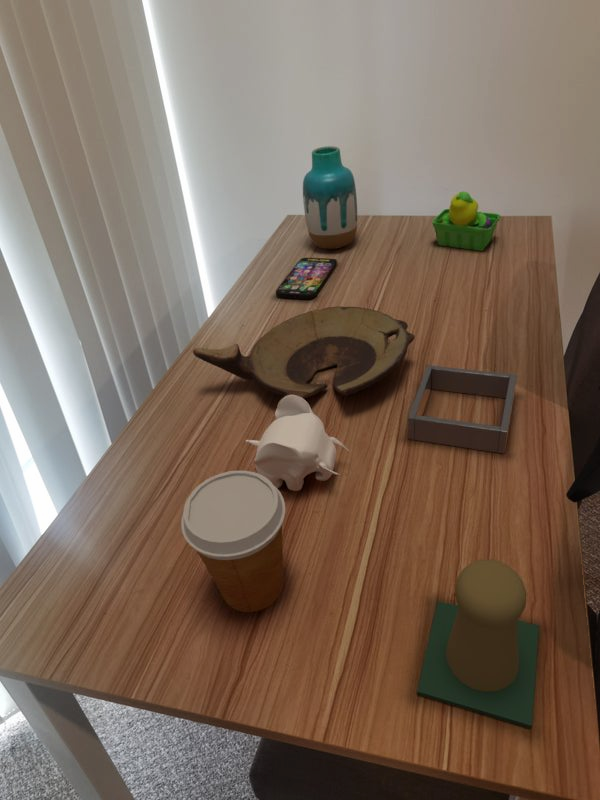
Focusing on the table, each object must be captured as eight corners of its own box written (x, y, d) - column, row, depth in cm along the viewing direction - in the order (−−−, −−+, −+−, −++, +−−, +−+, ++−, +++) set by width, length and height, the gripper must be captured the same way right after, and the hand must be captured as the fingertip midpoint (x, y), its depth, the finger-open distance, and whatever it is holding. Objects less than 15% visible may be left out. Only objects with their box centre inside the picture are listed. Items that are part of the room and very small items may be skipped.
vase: (298, 251, 125) (286, 156, 113) (326, 232, 131) (318, 140, 119) (341, 259, 119) (333, 160, 108) (368, 239, 126) (364, 143, 114)
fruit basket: (499, 238, 118) (504, 181, 111) (484, 257, 113) (489, 197, 106) (444, 232, 124) (446, 177, 117) (427, 249, 118) (428, 192, 111)
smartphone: (273, 292, 109) (301, 257, 120) (273, 297, 109) (301, 261, 120) (313, 295, 106) (338, 258, 117) (314, 300, 107) (339, 263, 118)
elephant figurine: (340, 508, 67) (334, 450, 62) (240, 498, 71) (226, 442, 65) (354, 451, 75) (350, 394, 69) (263, 444, 78) (252, 389, 72)
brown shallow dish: (406, 424, 78) (405, 376, 73) (192, 412, 85) (179, 368, 80) (419, 333, 94) (419, 289, 90) (239, 329, 102) (231, 289, 97)
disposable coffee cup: (236, 537, 66) (214, 457, 59) (314, 562, 62) (301, 480, 55) (188, 608, 59) (156, 528, 52) (271, 641, 56) (250, 560, 48)
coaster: (538, 629, 53) (539, 625, 53) (531, 729, 47) (532, 725, 47) (437, 604, 57) (437, 600, 56) (416, 694, 50) (416, 691, 50)
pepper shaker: (535, 669, 50) (553, 591, 43) (476, 705, 48) (486, 630, 42) (486, 613, 55) (496, 535, 48) (431, 645, 53) (434, 568, 46)
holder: (514, 395, 80) (516, 374, 77) (504, 454, 71) (507, 431, 69) (426, 385, 84) (426, 364, 81) (408, 439, 75) (407, 417, 73)
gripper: (651, 269, 41) (483, 418, 48) (896, 448, 26) (602, 629, 33) (727, 347, 46) (565, 473, 53) (969, 536, 31) (701, 678, 38)
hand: (599, 544), depth 44 cm, fingers open, 9 cm apart
